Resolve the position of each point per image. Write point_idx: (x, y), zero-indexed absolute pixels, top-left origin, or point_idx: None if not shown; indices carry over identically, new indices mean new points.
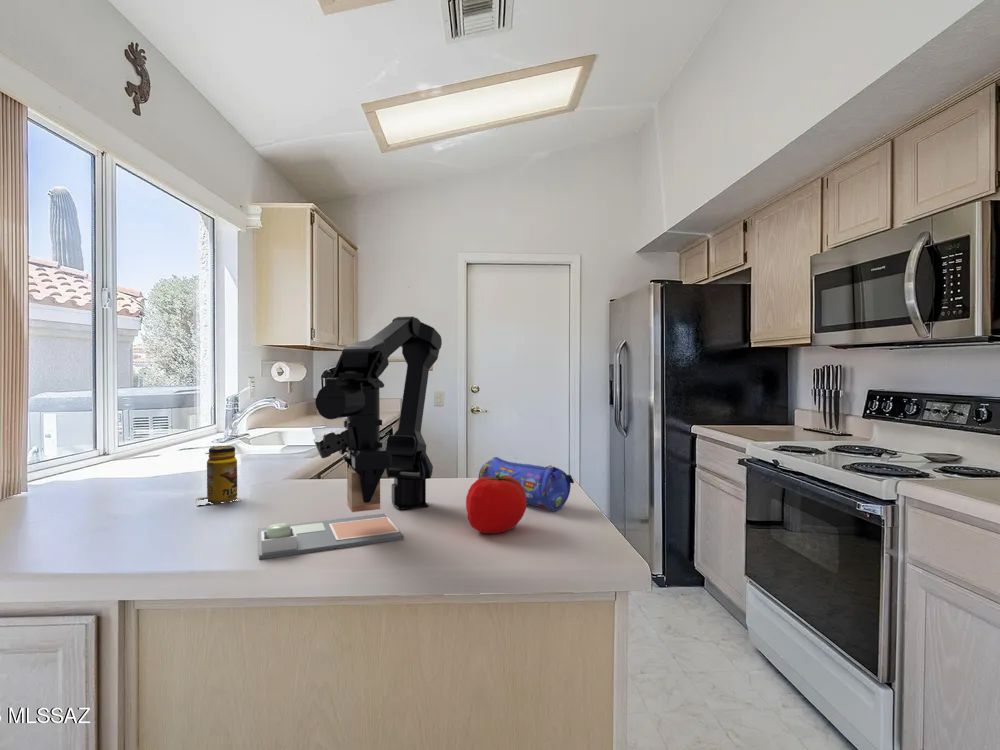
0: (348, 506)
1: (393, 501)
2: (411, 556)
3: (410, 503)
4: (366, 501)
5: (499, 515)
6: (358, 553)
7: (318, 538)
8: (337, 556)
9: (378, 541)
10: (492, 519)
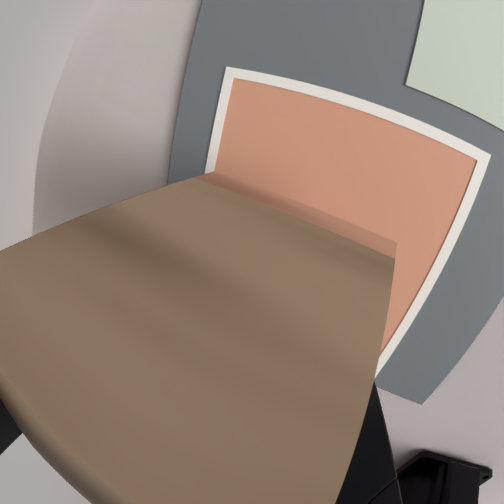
0: (344, 222)
1: (460, 471)
2: (73, 208)
3: (402, 481)
4: None
5: None
6: (129, 107)
7: (307, 14)
8: (140, 46)
9: None
10: None
